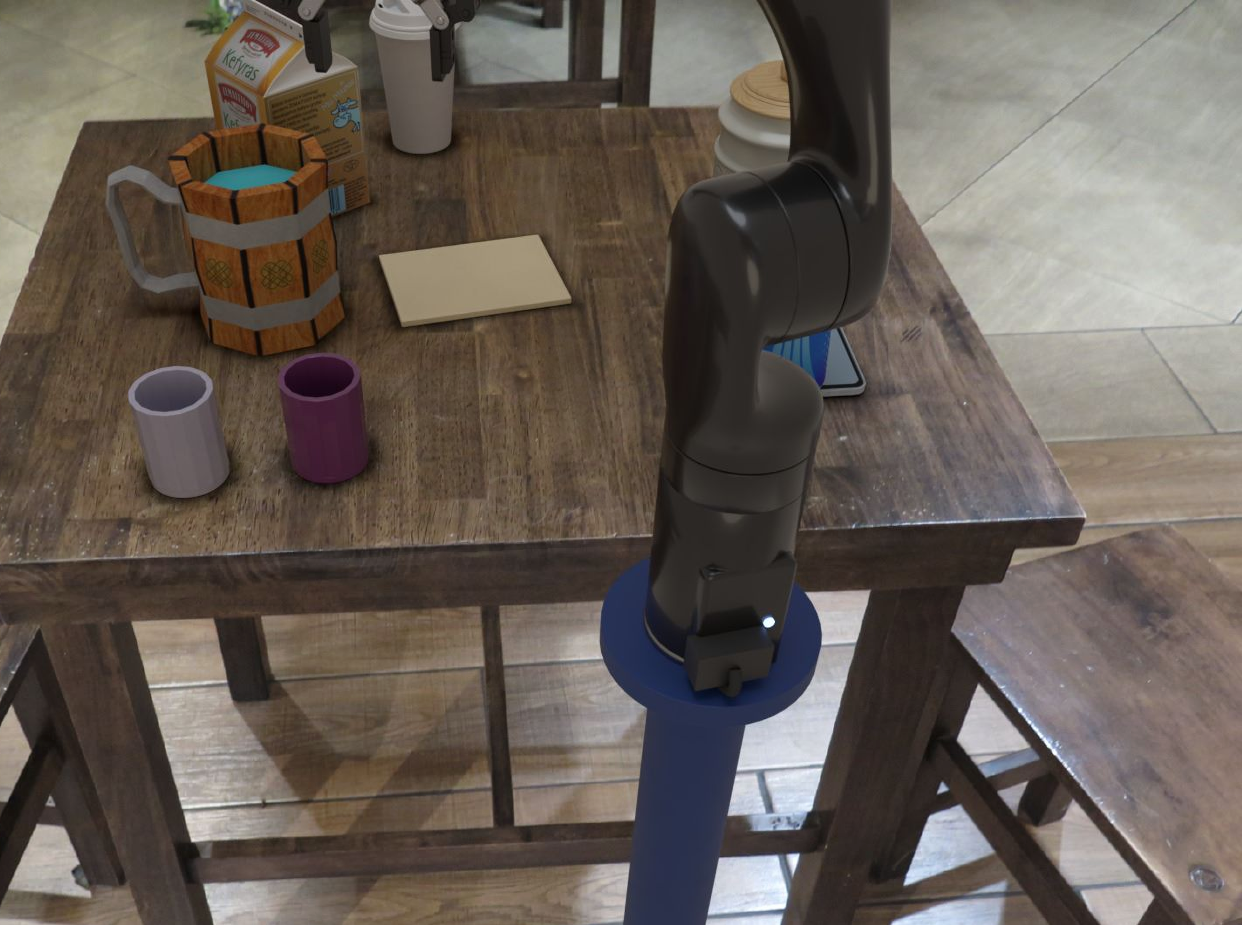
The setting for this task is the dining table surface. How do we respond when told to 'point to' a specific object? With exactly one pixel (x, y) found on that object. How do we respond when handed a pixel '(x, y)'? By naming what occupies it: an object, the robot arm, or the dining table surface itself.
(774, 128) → the jar
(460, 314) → the placemat
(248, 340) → the mug
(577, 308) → the dining table surface
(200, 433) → the grey cup
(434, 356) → the dining table surface
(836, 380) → the smartphone
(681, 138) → the dining table surface
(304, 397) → the plum cup
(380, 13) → the coffee cup
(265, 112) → the milk carton
